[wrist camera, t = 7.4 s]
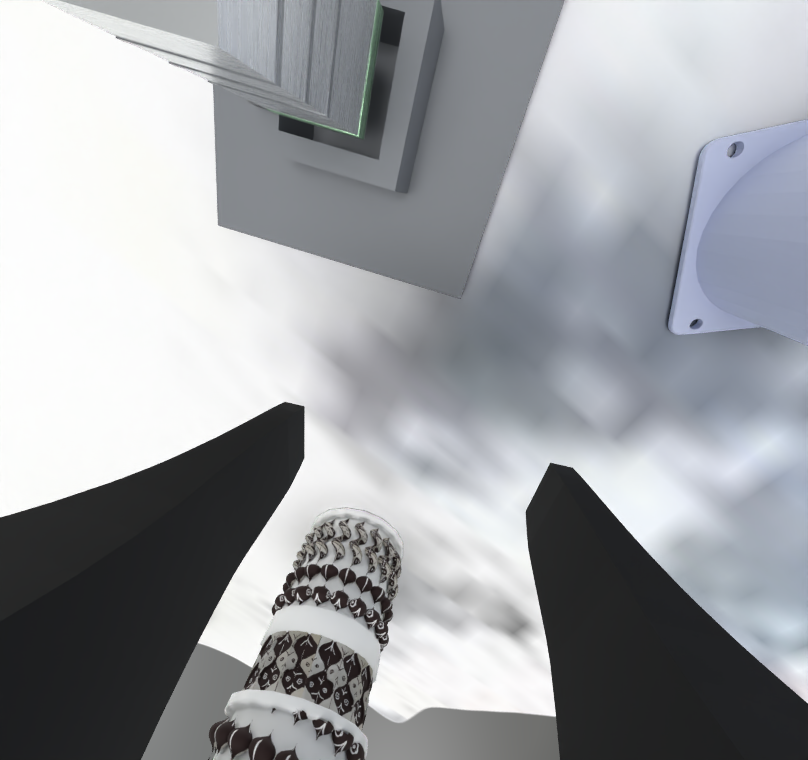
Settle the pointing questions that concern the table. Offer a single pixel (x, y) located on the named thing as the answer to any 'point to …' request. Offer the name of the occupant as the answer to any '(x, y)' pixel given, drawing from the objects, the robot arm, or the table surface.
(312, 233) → the grey socket base
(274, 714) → the decorative candle
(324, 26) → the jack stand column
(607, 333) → the table surface
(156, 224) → the table surface
